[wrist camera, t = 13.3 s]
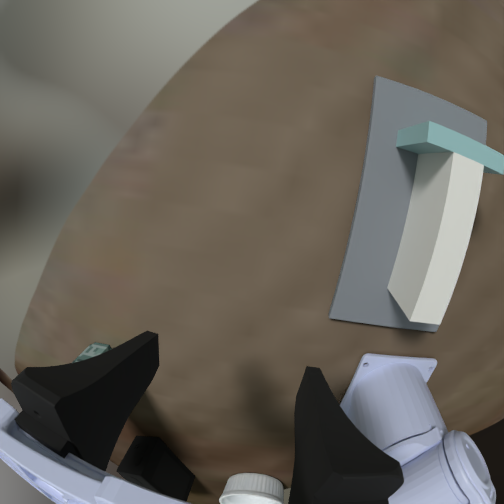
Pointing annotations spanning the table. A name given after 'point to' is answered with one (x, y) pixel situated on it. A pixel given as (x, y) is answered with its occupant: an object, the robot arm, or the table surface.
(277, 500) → the ramekin
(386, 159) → the tool mat
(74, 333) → the table surface
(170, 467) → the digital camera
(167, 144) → the table surface
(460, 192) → the two-tone t-shaped block
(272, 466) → the table surface
